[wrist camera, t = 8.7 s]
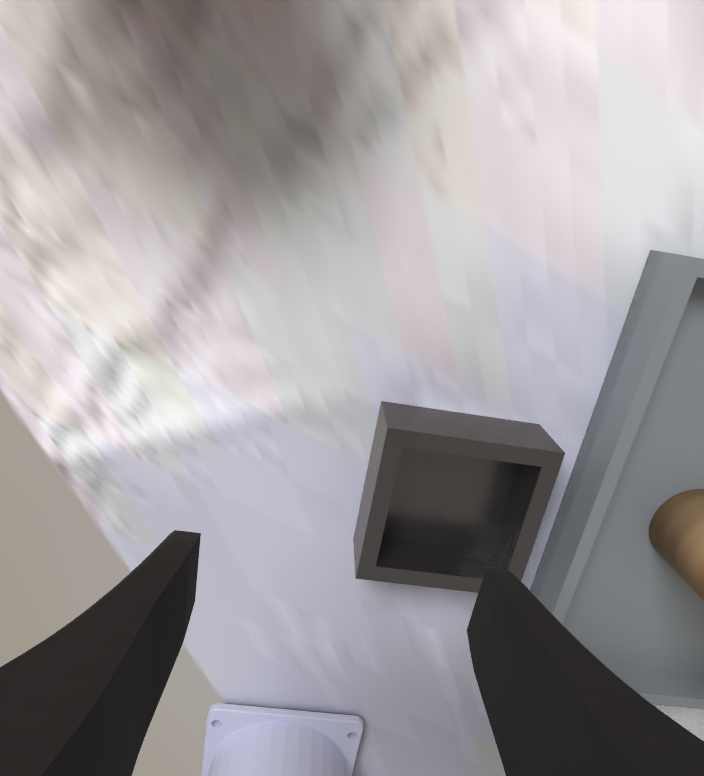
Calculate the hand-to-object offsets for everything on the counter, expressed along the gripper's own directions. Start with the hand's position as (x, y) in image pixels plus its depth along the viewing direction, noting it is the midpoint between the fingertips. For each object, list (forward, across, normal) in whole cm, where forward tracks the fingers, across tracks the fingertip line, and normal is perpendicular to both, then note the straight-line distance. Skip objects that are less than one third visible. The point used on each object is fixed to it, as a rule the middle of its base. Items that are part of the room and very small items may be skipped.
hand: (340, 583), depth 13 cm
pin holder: (+9, -5, +2) cm, 11 cm away
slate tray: (+9, -16, +1) cm, 19 cm away
